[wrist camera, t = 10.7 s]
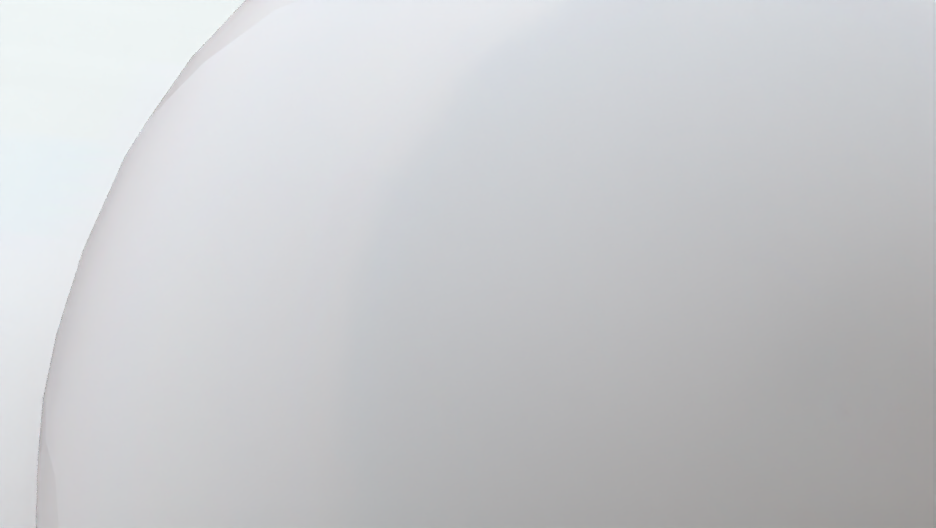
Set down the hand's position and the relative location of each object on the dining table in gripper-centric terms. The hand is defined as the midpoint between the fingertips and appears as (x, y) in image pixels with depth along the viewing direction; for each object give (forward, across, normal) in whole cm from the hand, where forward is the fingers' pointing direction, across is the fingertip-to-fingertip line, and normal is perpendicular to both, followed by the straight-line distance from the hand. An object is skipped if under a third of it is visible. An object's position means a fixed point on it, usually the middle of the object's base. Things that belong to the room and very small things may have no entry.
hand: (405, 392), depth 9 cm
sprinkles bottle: (+4, 0, +6) cm, 7 cm away
